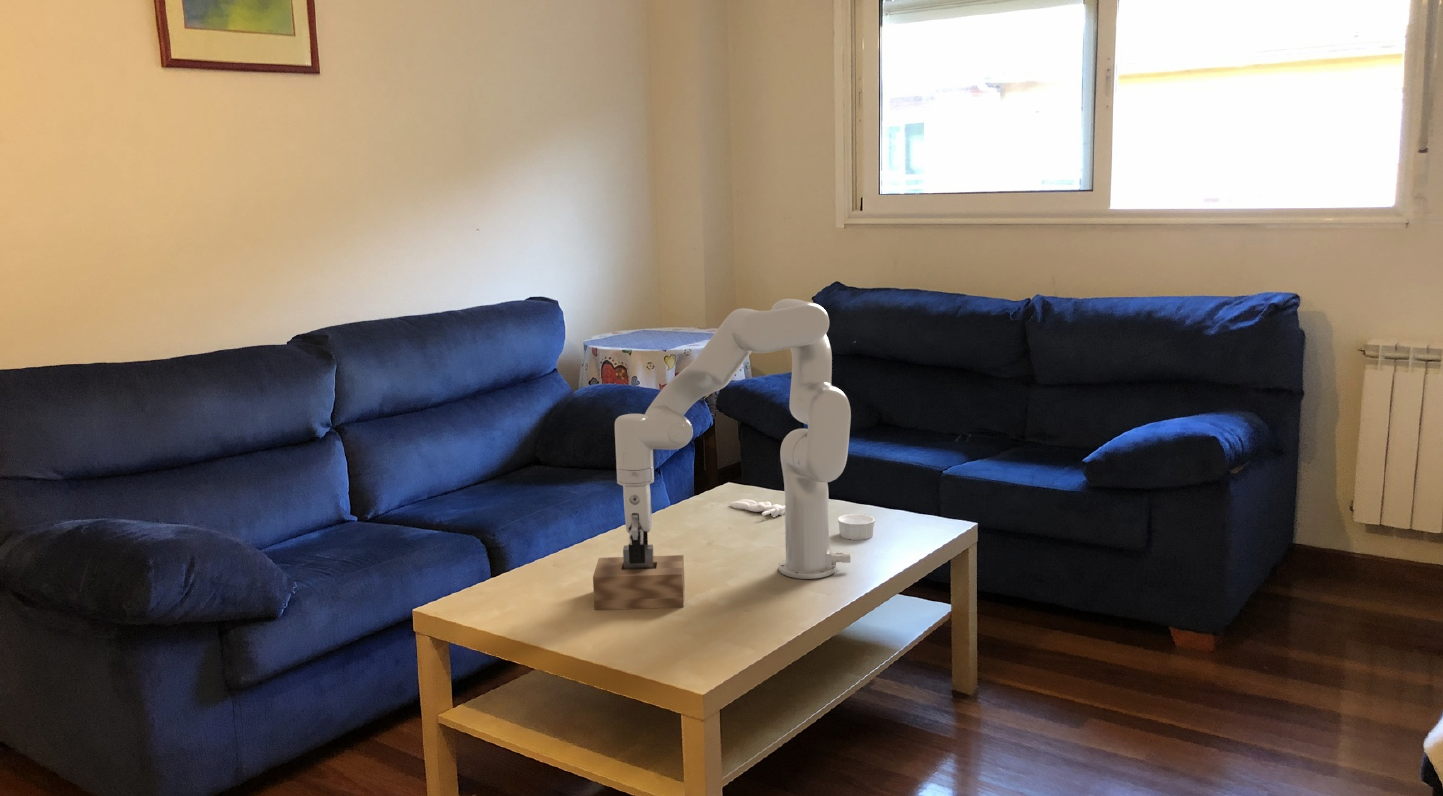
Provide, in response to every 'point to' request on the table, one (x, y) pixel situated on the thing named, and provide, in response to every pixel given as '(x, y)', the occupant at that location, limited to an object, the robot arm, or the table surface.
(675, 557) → the tan slotted block
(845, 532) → the ramekin
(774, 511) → the decorative figure
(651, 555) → the grey rectangular block
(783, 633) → the table surface
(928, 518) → the table surface
